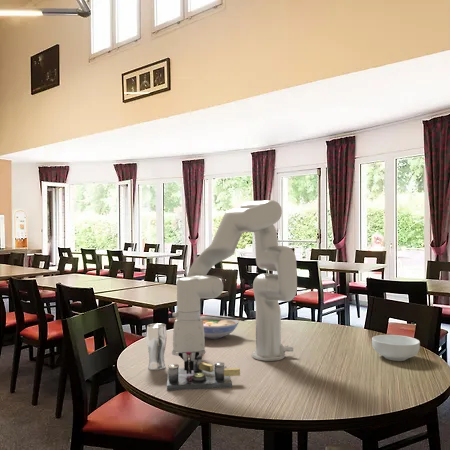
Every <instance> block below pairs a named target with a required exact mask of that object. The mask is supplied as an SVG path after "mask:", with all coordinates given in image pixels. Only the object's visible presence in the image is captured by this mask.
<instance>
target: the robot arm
mask: <svg viewBox="0 0 450 450" xmlns="http://www.w3.org/2000/svg"><path fill="white" fill-rule="evenodd" d="M282 213H283V211H282V206H281V204H280V203H279V202H278V201H276V200H273V199H272V200H271V199H269V200H268V199H267V200H250V201H246V202H244V203H242V204H241V206H240V208H239V207H237V208H230V209H228V210H227V211H226V212H225V213H224V215H223V217H222V219H221V221H220V224H219V225H218V227H217V231H216V232H215V235H214V237H213V240H212V241H211V244H210V245H208V247H206V248H205V249H204V250H203V251H202V252H201V253H200V254H199V255H198V256H197V257H196V259H194V260H193V262H192V263H191V266H190V269H189V270H188V273H187V275H186V276H185V277H181V278H180V277H179V278H178V279H177V282H176V311H175V312H172V318H176V319H175V320H174V323H173V333H172V352H171V354H172V355H173V356H177V357H179V358H181V360H182V361H183V366H184V367H183V368H184V371H185V370H186V372H187V374H188V373H190V374H192V370H194V360H195V359H196V357H197V356H198V355H202V356H203V355H204V354H206V349H205V345H206V343H205V341H206V340H205V338H206V337H205V336H204V325H203V320H202V319H200V317H201V300H202V299H216V298H218V297H219V296H221V294H223V291H224V282H223V281H222V279H220V278H219V277H218V276H215V275H209V274H208V273H209V271H210V270H211V269H212V268H213V267H214V266H215V265H217V264H219V263H220V262H223V261H224V260H227V259H229V258H231V256H232V257H233V255H234V253H235V251H236V250H237V247H238V245H239V241H240V239H241V237H242V235H243V233H254V245H255V248H254V249H255V263H256V266H257V267H258V269H261V270H263V271H268V272H269V271H270V272H276V273H277V274H275V273H260V274H258V275H257V276H255V278H254V280H253V283H252V289H253V290H252V291H253V295H254V296H253V297H254V302H255V350H253V351H252V353H251V356H252V358H254V359H255V360H258V361H265V362H274V361H281V360H283V359H285V357H286V352H294V346H292V345H291V346H289V345H283V344H282V330H281V329H282V326H281V325H282V322H281V321H282V318H281V316H282V315H281V314H282V313H281V311H282V310H281V306H280V304H279V302H280V301H281V302H291V301H293V300H294V299H295V297H296V295H297V290H298V275H297V274H298V273H297V272H298V271H297V257H296V255H295V252H294V250H293V249H292V248H291V247H289V246H284V245H279V244H278V233H277V229H276V227H275V224H276V223H278V222H279V221H280V219H281V217H282ZM207 274H208V275H207ZM186 353H191V354H190V357H189V358H188V356H187V355H188V354H186Z"/></svg>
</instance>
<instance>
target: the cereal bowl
mask: <svg viewBox="0 0 450 450" xmlns="http://www.w3.org/2000/svg"><path fill="white" fill-rule="evenodd" d="M371 346H372V348H373V350H374V351H375V352H376V353H377V354H379V355H380V356H382V357H384V358H385V359H386V360H389V361H395V362H402V361H403V362H404V361H406V360H408V359H410V358H414V357H415V356H417V354H418V353H419V351H420V348H421V342H420V340H419V339H417V338H414V337H411V336H407V335H400V334H399V335H398V334H380V335H374V336H373V337H371Z"/></svg>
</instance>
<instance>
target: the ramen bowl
mask: <svg viewBox="0 0 450 450" xmlns="http://www.w3.org/2000/svg"><path fill="white" fill-rule="evenodd" d="M200 319H202V320H203V325H204V337H205V338H206V339H211V340H218V339H219V340H220V339H221V338H223V337H225V336H226V337H227V336H228V335H230V334H232V333H233V332H234V331H235V330H236V328H237V327H238V325H239V323H240V322H246V321H248V319H247V318H244V317H243V318H241V317H233V316H226V315H208V314H202V316H200Z"/></svg>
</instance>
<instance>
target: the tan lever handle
mask: <svg viewBox="0 0 450 450" xmlns="http://www.w3.org/2000/svg"><path fill="white" fill-rule="evenodd" d="M213 367H214V365H213V364H210V363H206V362H203V354H202V355H198V356H197V357H196V359H195V360H194V370H193V371H202V370H204V371H207V372H213Z"/></svg>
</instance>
